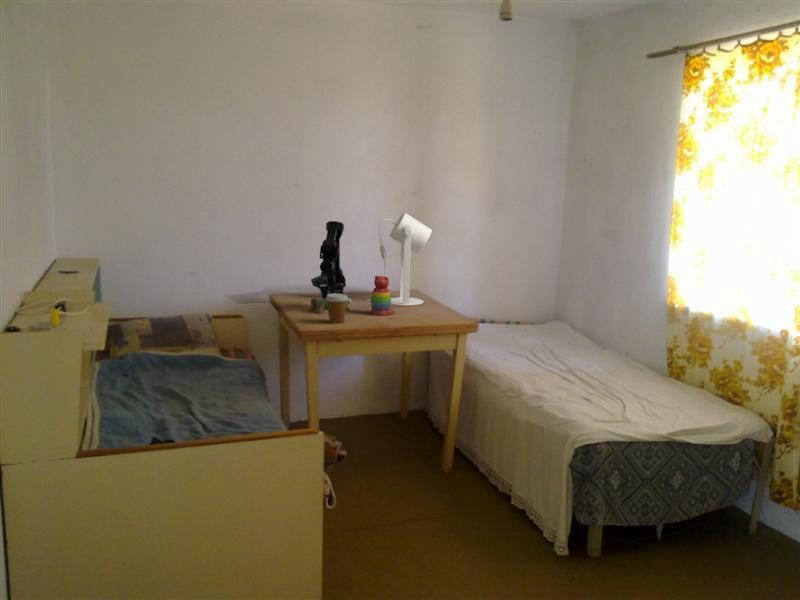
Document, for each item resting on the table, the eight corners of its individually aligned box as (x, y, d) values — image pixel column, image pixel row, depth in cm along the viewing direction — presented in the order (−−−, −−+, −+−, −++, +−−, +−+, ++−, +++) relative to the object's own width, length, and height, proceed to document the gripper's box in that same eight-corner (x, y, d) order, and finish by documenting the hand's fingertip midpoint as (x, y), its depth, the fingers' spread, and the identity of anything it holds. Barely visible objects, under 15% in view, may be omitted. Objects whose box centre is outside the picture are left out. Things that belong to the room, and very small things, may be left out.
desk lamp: (432, 305, 323) (435, 214, 314) (367, 305, 320) (368, 213, 311) (426, 297, 343) (429, 211, 335) (366, 297, 341) (367, 210, 332)
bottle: (320, 309, 303) (319, 299, 303) (316, 308, 307) (315, 299, 307) (352, 306, 312) (351, 296, 312) (347, 305, 316) (347, 296, 315)
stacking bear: (396, 312, 305) (397, 275, 302) (386, 317, 296) (387, 278, 293) (375, 310, 310) (376, 273, 306) (365, 314, 301) (366, 276, 297)
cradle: (338, 306, 318) (338, 296, 317) (349, 310, 308) (350, 300, 307) (308, 309, 309) (308, 298, 308) (319, 314, 299) (319, 303, 298)
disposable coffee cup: (326, 319, 289) (326, 293, 286) (347, 319, 290) (348, 293, 287) (325, 324, 279) (325, 297, 277) (347, 324, 280) (348, 297, 278)
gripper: (304, 268, 308) (305, 300, 311) (322, 274, 293) (322, 308, 296) (326, 266, 314) (326, 298, 317) (344, 272, 299) (343, 305, 302)
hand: (329, 302), depth 308 cm, fingers open, 9 cm apart
